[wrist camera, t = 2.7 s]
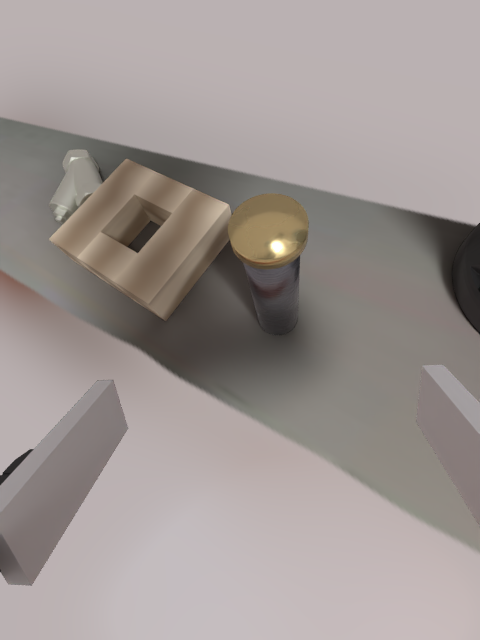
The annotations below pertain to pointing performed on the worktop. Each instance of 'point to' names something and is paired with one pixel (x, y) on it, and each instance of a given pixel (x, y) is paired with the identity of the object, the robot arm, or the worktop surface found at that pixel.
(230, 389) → the worktop surface
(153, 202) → the socket block
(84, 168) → the pipe fitting
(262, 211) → the gold-capped peg
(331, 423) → the worktop surface
